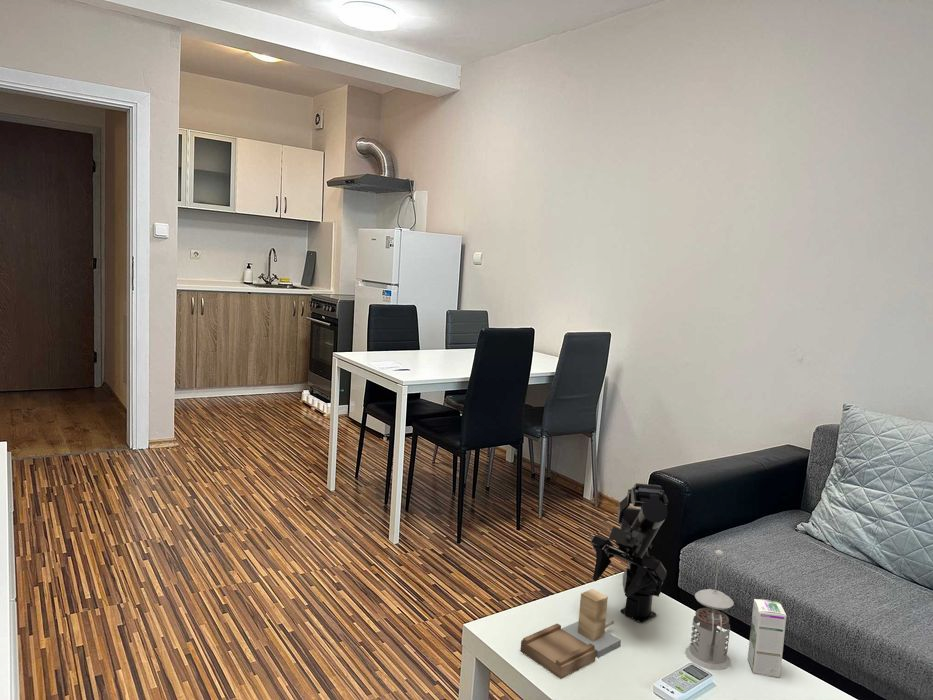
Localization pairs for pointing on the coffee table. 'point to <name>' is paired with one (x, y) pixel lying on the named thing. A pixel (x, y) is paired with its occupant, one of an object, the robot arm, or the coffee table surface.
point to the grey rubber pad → (601, 644)
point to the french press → (711, 629)
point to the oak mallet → (593, 615)
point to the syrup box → (767, 637)
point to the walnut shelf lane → (558, 651)
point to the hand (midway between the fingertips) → (609, 588)
